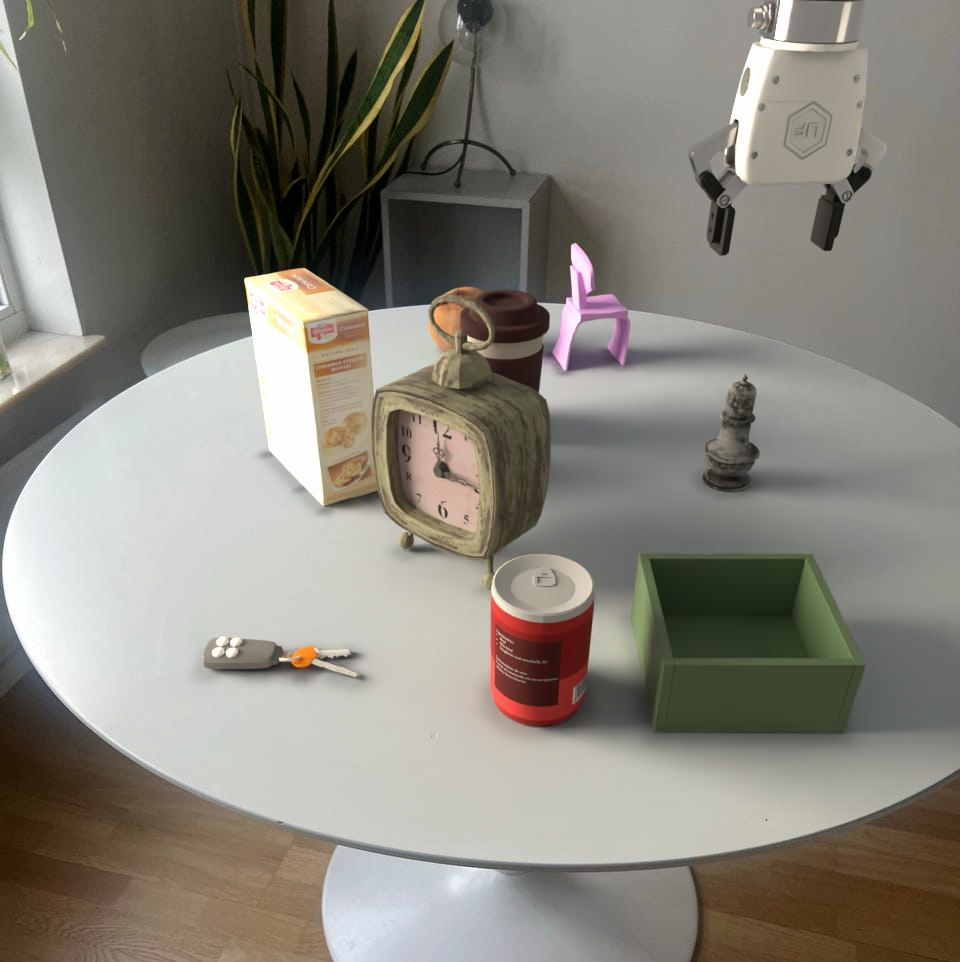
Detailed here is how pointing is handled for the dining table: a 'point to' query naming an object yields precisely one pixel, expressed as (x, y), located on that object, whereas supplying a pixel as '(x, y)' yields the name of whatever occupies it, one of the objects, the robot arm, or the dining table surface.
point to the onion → (451, 316)
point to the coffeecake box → (315, 381)
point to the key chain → (265, 655)
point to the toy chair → (589, 311)
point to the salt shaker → (733, 442)
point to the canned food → (540, 637)
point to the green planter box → (742, 644)
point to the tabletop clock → (461, 450)
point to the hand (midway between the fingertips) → (769, 248)
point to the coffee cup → (510, 334)
